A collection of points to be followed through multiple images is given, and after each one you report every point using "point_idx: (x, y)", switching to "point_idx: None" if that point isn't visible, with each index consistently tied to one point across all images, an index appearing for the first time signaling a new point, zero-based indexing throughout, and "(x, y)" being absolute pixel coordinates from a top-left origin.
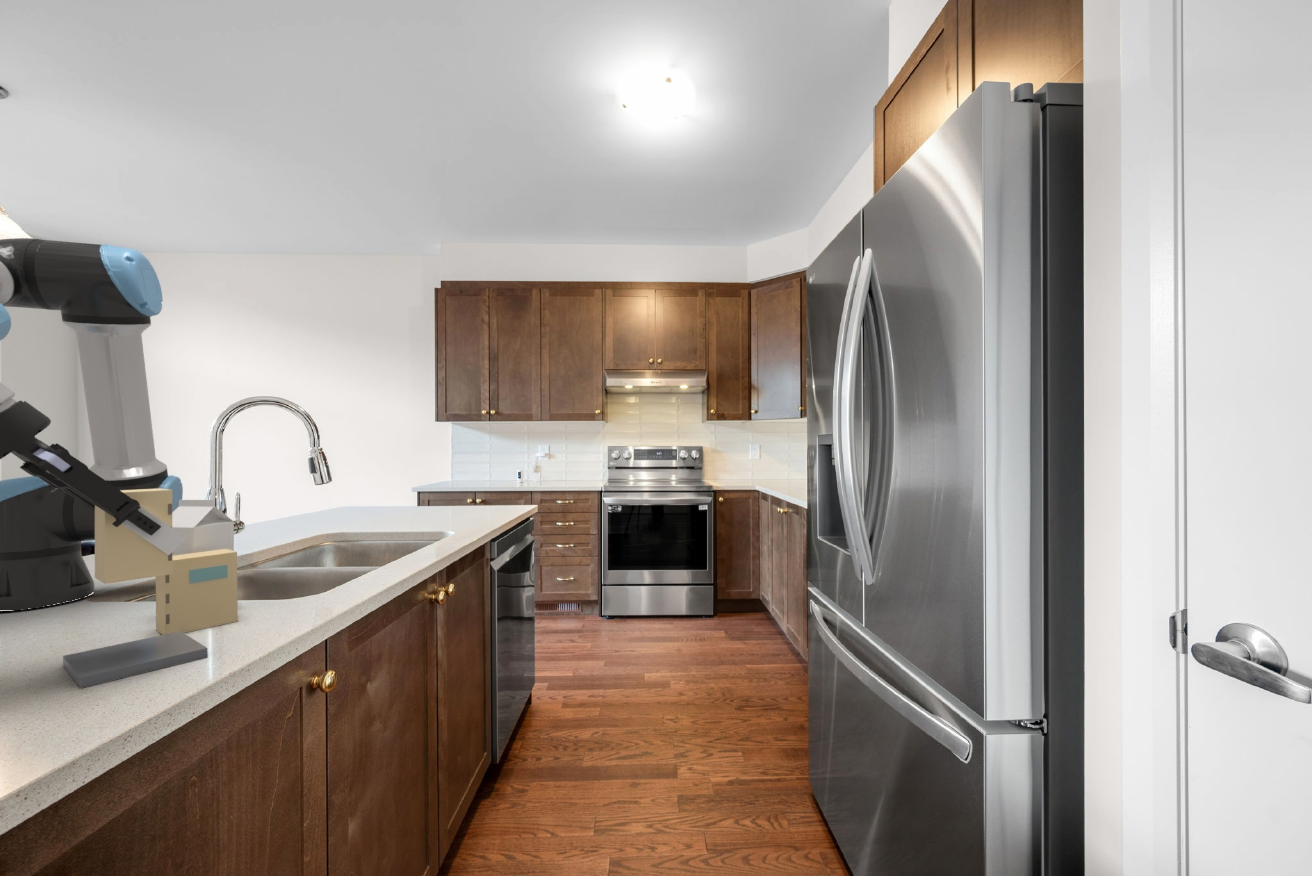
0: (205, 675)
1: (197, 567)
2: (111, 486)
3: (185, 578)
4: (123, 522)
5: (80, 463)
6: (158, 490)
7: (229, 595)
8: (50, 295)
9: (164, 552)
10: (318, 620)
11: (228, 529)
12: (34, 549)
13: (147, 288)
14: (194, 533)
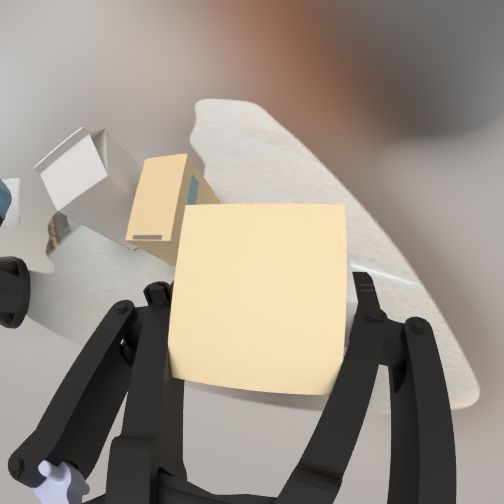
0: (398, 283)
1: (184, 206)
2: (446, 392)
3: None
4: (347, 342)
5: (455, 499)
6: (335, 239)
7: (207, 192)
8: None
9: None
10: (297, 150)
11: (111, 140)
12: None
13: None
14: (113, 179)
